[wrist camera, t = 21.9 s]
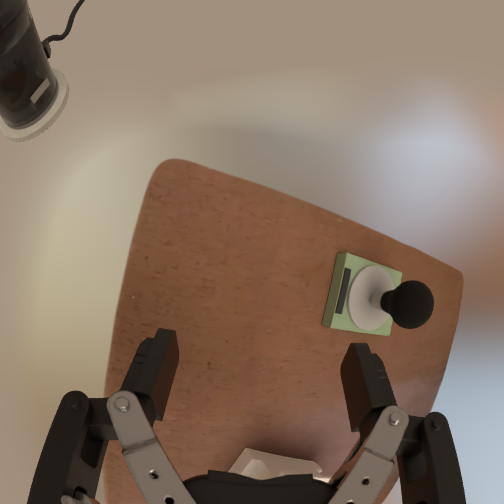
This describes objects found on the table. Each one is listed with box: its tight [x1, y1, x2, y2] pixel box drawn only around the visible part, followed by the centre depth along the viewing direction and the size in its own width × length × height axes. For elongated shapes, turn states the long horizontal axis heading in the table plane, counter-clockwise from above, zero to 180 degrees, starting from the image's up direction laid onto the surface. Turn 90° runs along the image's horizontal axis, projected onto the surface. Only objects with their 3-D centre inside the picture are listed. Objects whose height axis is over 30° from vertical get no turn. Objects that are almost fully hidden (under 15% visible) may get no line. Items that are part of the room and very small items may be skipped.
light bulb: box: [372, 280, 434, 329], centre depth 31 cm, size 6×6×10 cm
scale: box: [322, 253, 402, 336], centre depth 37 cm, size 12×10×3 cm
